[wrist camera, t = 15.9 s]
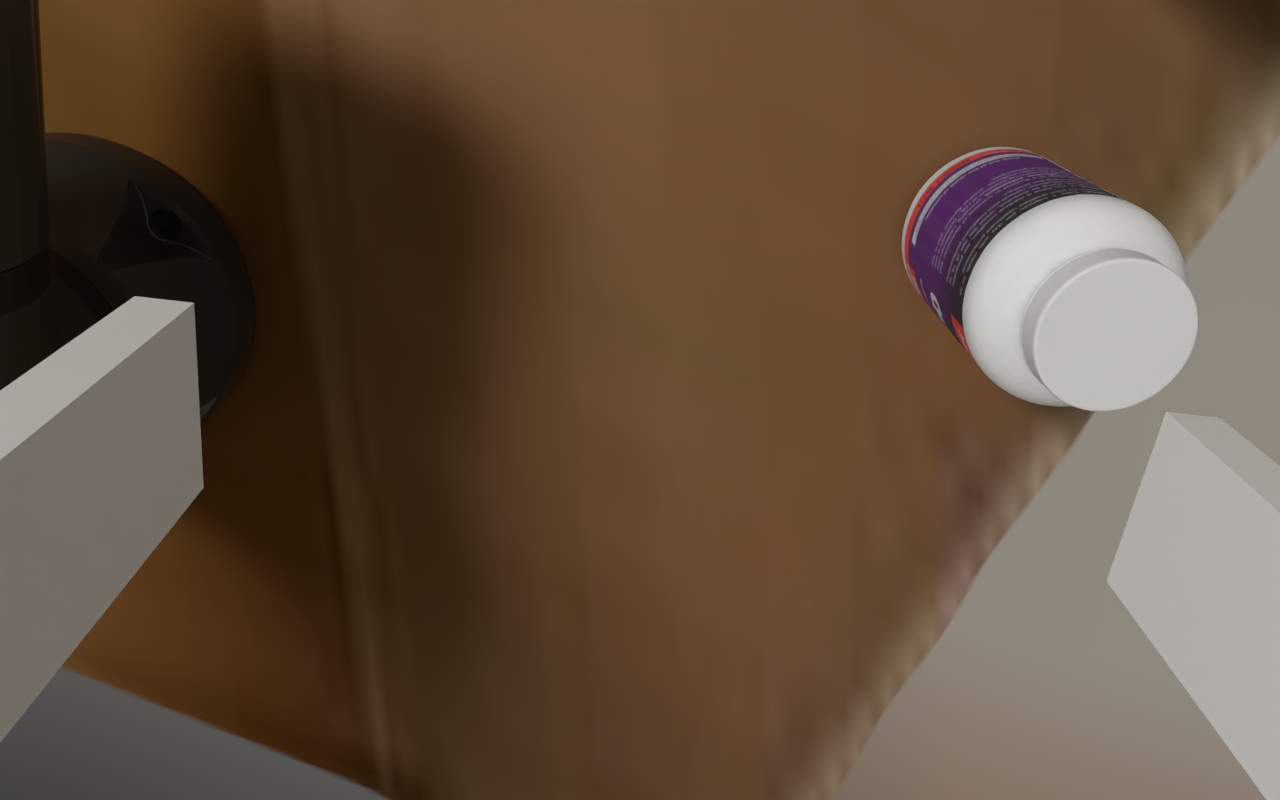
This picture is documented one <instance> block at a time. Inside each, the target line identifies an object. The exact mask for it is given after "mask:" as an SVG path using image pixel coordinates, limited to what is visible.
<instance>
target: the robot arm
mask: <svg viewBox="0 0 1280 800" xmlns="http://www.w3.org/2000/svg"><path fill="white" fill-rule="evenodd" d="M254 317H255V314H254V301H253V294H252V289H251V284H250V280H249V276H248V273H247V270H246V267H245V264H244V262H243V259H242V256H241V254H240V252H239V250H238V248H237V246H236V244H235V242H234V240H233V238H232V237H231V235H230V233H229V232H228V230H227V228H226V227H225V225H224V224H223V222H222V221H221V220H220V218H219V217H218V216H217V214H216V213H215V212H214V210H213V209H212V208H211V207H210V206H209V205H208V203H207V202H206V201H205V200H204V199H203V198H202V197H201V196H200V195H199V194H198V193H197V192H196V191H195V190H194V189H193V188H192V187H191V186H190V185H189V184H187V183H186V182H185V181H184V180H182V179H181V178H180V177H179V176H178V175H176V174H175V173H173V172H172V171H171V170H169V169H168V168H166V167H165V166H163V165H162V164H160V163H158V162H157V161H155V160H154V159H152V158H150V157H148V156H146V155H144V154H142V153H140V152H138V151H136V150H134V149H131V148H129V147H126V146H124V145H121V144H118V143H116V142H112V141H109V140H106V139H102V138H98V137H93V136H88V135H81V134H73V133H45V124H44V103H43V83H42V62H41V42H40V21H39V1H38V0H0V742H1V741H2V740H3V739H4V737H5V736H6V735H7V733H8V732H9V731H10V730H11V729H12V727H13V726H14V725H15V724H16V722H17V721H18V720H19V719H20V717H21V716H22V715H23V713H24V712H25V711H26V710H27V709H28V707H29V706H30V705H31V703H32V702H33V701H34V700H35V698H36V697H37V696H38V695H39V693H40V692H41V691H42V690H43V688H44V687H45V686H46V685H47V683H48V682H49V681H50V680H51V678H52V677H53V676H54V675H55V673H56V672H57V671H58V670H59V668H60V667H61V666H62V665H63V663H64V662H65V661H66V660H67V658H68V657H69V656H70V655H71V653H72V652H73V651H74V650H75V648H76V647H77V646H78V645H79V643H80V642H81V641H82V640H83V638H84V637H85V636H86V635H87V633H88V632H89V631H90V630H91V628H92V627H93V626H94V625H95V623H96V622H97V621H98V620H99V618H100V617H101V616H102V614H103V613H104V612H105V611H106V609H107V608H108V607H109V606H110V604H111V603H112V602H113V601H114V599H115V598H116V597H117V596H118V594H119V593H120V592H121V591H122V589H123V588H124V587H125V586H126V584H127V583H128V582H129V581H130V579H131V578H132V577H133V576H134V574H135V573H136V572H137V571H138V569H139V568H140V567H141V566H142V564H143V563H144V562H145V561H146V559H147V558H148V557H149V556H150V554H151V553H152V552H153V551H154V549H155V548H156V547H157V546H158V544H159V543H160V542H161V541H162V539H163V538H164V537H165V536H166V534H167V533H168V532H169V531H170V529H171V528H172V527H173V525H174V524H175V523H176V522H177V520H178V519H179V518H180V517H181V515H182V514H183V513H184V512H185V510H186V509H187V508H188V507H189V505H190V504H191V503H192V502H193V500H194V499H195V498H196V497H197V495H198V494H199V493H200V492H201V490H202V489H203V488H204V485H203V466H202V446H201V427H200V424H201V423H202V422H203V421H204V420H205V419H207V418H208V417H209V416H210V414H211V413H212V412H213V411H214V410H215V409H216V408H217V407H218V406H219V405H220V404H221V402H222V401H223V400H224V399H225V398H226V397H227V396H228V394H229V393H230V392H231V390H232V389H233V388H234V386H235V385H236V383H237V381H238V380H239V378H240V376H241V374H242V372H243V370H244V368H245V366H246V363H247V360H248V357H249V354H250V350H251V346H252V341H253V335H254ZM1107 582H1108V584H1109V585H1110V586H1111V588H1112V589H1113V590H1114V592H1115V593H1116V594H1117V596H1118V597H1119V599H1120V600H1121V601H1122V603H1123V604H1124V605H1125V607H1126V608H1127V610H1128V611H1129V612H1130V614H1131V615H1132V616H1133V618H1134V619H1135V621H1136V622H1137V623H1138V625H1139V626H1140V627H1141V629H1142V630H1143V632H1144V633H1145V634H1146V636H1147V637H1148V638H1149V640H1150V641H1151V642H1152V644H1153V645H1154V647H1155V648H1156V649H1157V651H1158V652H1159V653H1160V655H1161V656H1162V657H1163V659H1164V660H1165V662H1166V663H1167V664H1168V666H1169V667H1170V668H1171V670H1172V671H1173V672H1174V674H1175V675H1176V677H1177V678H1178V679H1179V681H1180V682H1181V683H1182V685H1183V686H1184V687H1185V689H1186V690H1187V692H1188V693H1189V694H1190V696H1191V697H1192V699H1193V700H1194V701H1195V702H1196V704H1197V705H1198V707H1199V708H1200V709H1201V711H1202V712H1203V713H1204V715H1205V716H1206V718H1207V719H1208V720H1209V722H1210V723H1211V725H1212V726H1213V727H1214V729H1215V730H1216V731H1217V733H1218V734H1219V735H1220V737H1221V738H1222V739H1223V741H1224V742H1225V744H1226V745H1227V746H1228V748H1229V749H1230V750H1231V752H1232V753H1233V754H1234V756H1235V757H1236V759H1237V760H1238V761H1239V763H1240V764H1241V766H1242V767H1243V768H1244V769H1245V771H1246V772H1247V774H1248V775H1249V776H1250V778H1251V779H1252V780H1253V782H1254V783H1255V785H1256V786H1257V787H1258V789H1259V790H1260V792H1261V793H1262V794H1263V796H1264V797H1265V798H1266V800H1280V466H1279V465H1277V464H1276V463H1275V462H1274V461H1272V460H1271V459H1270V458H1269V457H1268V456H1266V455H1265V454H1264V453H1263V452H1261V451H1260V450H1259V449H1258V448H1257V447H1255V446H1254V445H1253V444H1252V443H1251V442H1249V441H1248V440H1247V439H1246V438H1244V437H1243V436H1242V435H1241V434H1240V433H1238V432H1237V431H1236V430H1234V429H1233V428H1232V427H1231V426H1230V425H1229V424H1227V423H1226V422H1225V421H1224V420H1223V419H1221V418H1220V417H1211V416H1202V415H1192V414H1184V413H1175V412H1166V413H1165V416H1164V419H1163V422H1162V424H1161V427H1160V430H1159V433H1158V436H1157V439H1156V442H1155V445H1154V447H1153V450H1152V453H1151V456H1150V459H1149V462H1148V464H1147V467H1146V470H1145V473H1144V476H1143V479H1142V482H1141V484H1140V488H1139V490H1138V493H1137V496H1136V499H1135V502H1134V504H1133V507H1132V510H1131V513H1130V516H1129V519H1128V522H1127V524H1126V527H1125V530H1124V533H1123V536H1122V539H1121V542H1120V545H1119V548H1118V550H1117V553H1116V556H1115V559H1114V562H1113V565H1112V567H1111V570H1110V573H1109V576H1108V579H1107Z"/></svg>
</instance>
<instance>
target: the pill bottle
mask: <svg viewBox="0 0 1280 800" xmlns="http://www.w3.org/2000/svg"><path fill="white" fill-rule="evenodd" d="M902 254H903V261H904V265H905V268H906V272H907V274H908V276H909V279H910V281H911V282H912V284H913V286H914V287H915V289H916V290H917V292H918V293H919V294H920V296H921V297H922V298H923V300H924V301H925V302H926V303H927V304H928V305H929V307H930V308H931V309H932V310H933V311H934V312H935V314H936V315H937V316H938V317H939V318H940V320H941V321H942V322H943V323H944V324H945V326H946V327H947V328H948V329H949V330H950V332H951V333H952V334H953V335H954V336H955V338H956V339H957V340H958V341H959V342H960V344H961V345H962V346H963V347H964V348H965V350H966V351H967V352H968V353H969V355H970V356H971V357H972V358H973V360H974V361H975V362H976V363H977V365H978V366H979V367H980V368H981V369H982V371H983V372H984V373H985V374H986V375H987V376H988V377H989V378H990V379H991V380H992V381H993V382H994V383H995V384H996V385H998V386H999V387H1001V388H1002V389H1003V390H1005V391H1007V392H1008V393H1010V394H1012V395H1014V396H1016V397H1018V398H1020V399H1023V400H1026V401H1029V402H1032V403H1036V404H1040V405H1047V406H1058V407H1064V406H1073V407H1076V408H1080V409H1084V410H1089V411H1113V410H1119V409H1123V408H1127V407H1131V406H1133V405H1136V404H1139V403H1141V402H1143V401H1145V400H1147V399H1149V398H1151V397H1152V396H1154V395H1155V394H1157V393H1158V392H1159V391H1160V390H1162V389H1163V388H1164V387H1166V386H1167V385H1168V384H1169V383H1170V382H1171V381H1172V380H1173V379H1174V378H1175V377H1176V376H1177V374H1178V373H1179V372H1180V371H1181V369H1182V368H1183V367H1184V365H1185V364H1186V362H1187V360H1188V359H1189V356H1190V354H1191V352H1192V350H1193V347H1194V345H1195V341H1196V337H1197V331H1198V312H1197V306H1196V303H1195V300H1194V297H1193V295H1192V293H1191V291H1190V289H1189V287H1188V281H1187V272H1186V267H1185V263H1184V260H1183V257H1182V254H1181V252H1180V249H1179V247H1178V245H1177V243H1176V242H1175V240H1174V238H1173V237H1172V235H1171V234H1170V233H1169V231H1168V230H1167V229H1166V228H1165V227H1164V226H1163V225H1162V224H1161V223H1160V222H1159V221H1158V220H1157V219H1156V218H1155V217H1154V216H1152V215H1151V214H1149V213H1148V212H1147V211H1145V210H1143V209H1141V208H1139V207H1138V206H1136V205H1134V204H1132V203H1130V202H1128V201H1126V200H1124V199H1122V198H1120V197H1118V196H1116V195H1114V194H1112V193H1110V192H1108V191H1106V190H1104V189H1102V188H1100V187H1098V186H1096V185H1094V184H1092V183H1090V182H1089V181H1087V180H1085V179H1083V178H1081V177H1079V176H1077V175H1076V174H1074V173H1072V172H1070V171H1068V170H1066V169H1065V168H1063V167H1061V166H1059V165H1057V164H1055V163H1054V162H1052V161H1050V160H1048V159H1046V158H1044V157H1043V156H1040V155H1038V154H1036V153H1033V152H1030V151H1027V150H1023V149H1019V148H1012V147H993V148H985V149H981V150H976V151H973V152H970V153H968V154H965V155H963V156H960V157H958V158H957V159H955V160H953V161H951V162H949V163H948V164H946V165H945V166H944V167H942V168H941V169H940V170H938V171H937V172H936V173H935V174H934V175H933V176H932V177H931V178H930V179H929V180H928V181H927V182H926V183H925V184H924V185H923V187H922V188H921V189H920V191H919V192H918V194H917V195H916V197H915V199H914V200H913V202H912V205H911V207H910V209H909V212H908V214H907V217H906V220H905V224H904V228H903V234H902Z"/></svg>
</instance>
